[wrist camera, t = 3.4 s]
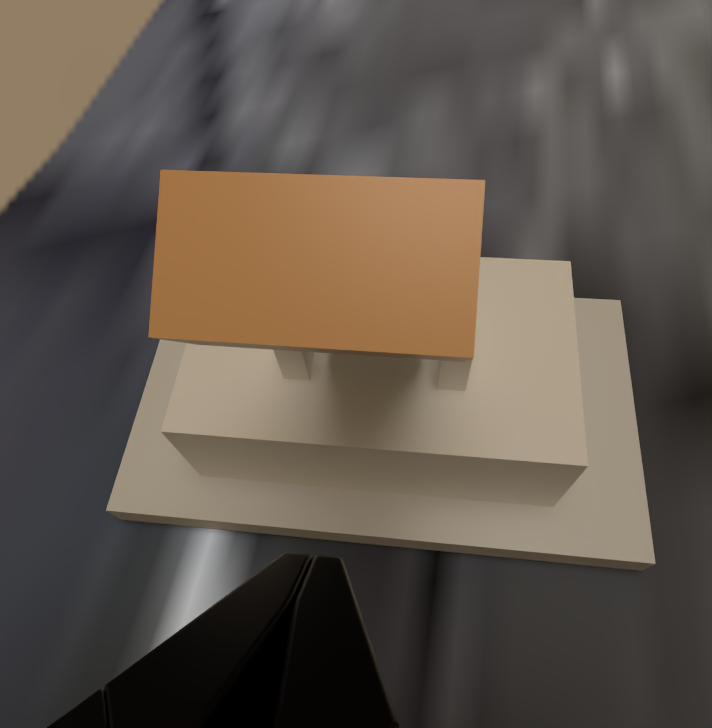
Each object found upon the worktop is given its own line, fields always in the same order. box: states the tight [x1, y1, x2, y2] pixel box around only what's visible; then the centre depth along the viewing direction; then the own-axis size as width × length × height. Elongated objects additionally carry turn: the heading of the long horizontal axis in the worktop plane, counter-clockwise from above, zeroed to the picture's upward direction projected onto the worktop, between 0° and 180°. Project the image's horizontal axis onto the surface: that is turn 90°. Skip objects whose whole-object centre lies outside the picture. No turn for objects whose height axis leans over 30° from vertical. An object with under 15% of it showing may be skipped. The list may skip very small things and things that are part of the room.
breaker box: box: [106, 257, 655, 571], centre depth 19 cm, size 10×18×7 cm, turn 84°
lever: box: [149, 170, 485, 362], centre depth 12 cm, size 2×4×10 cm, turn 83°
